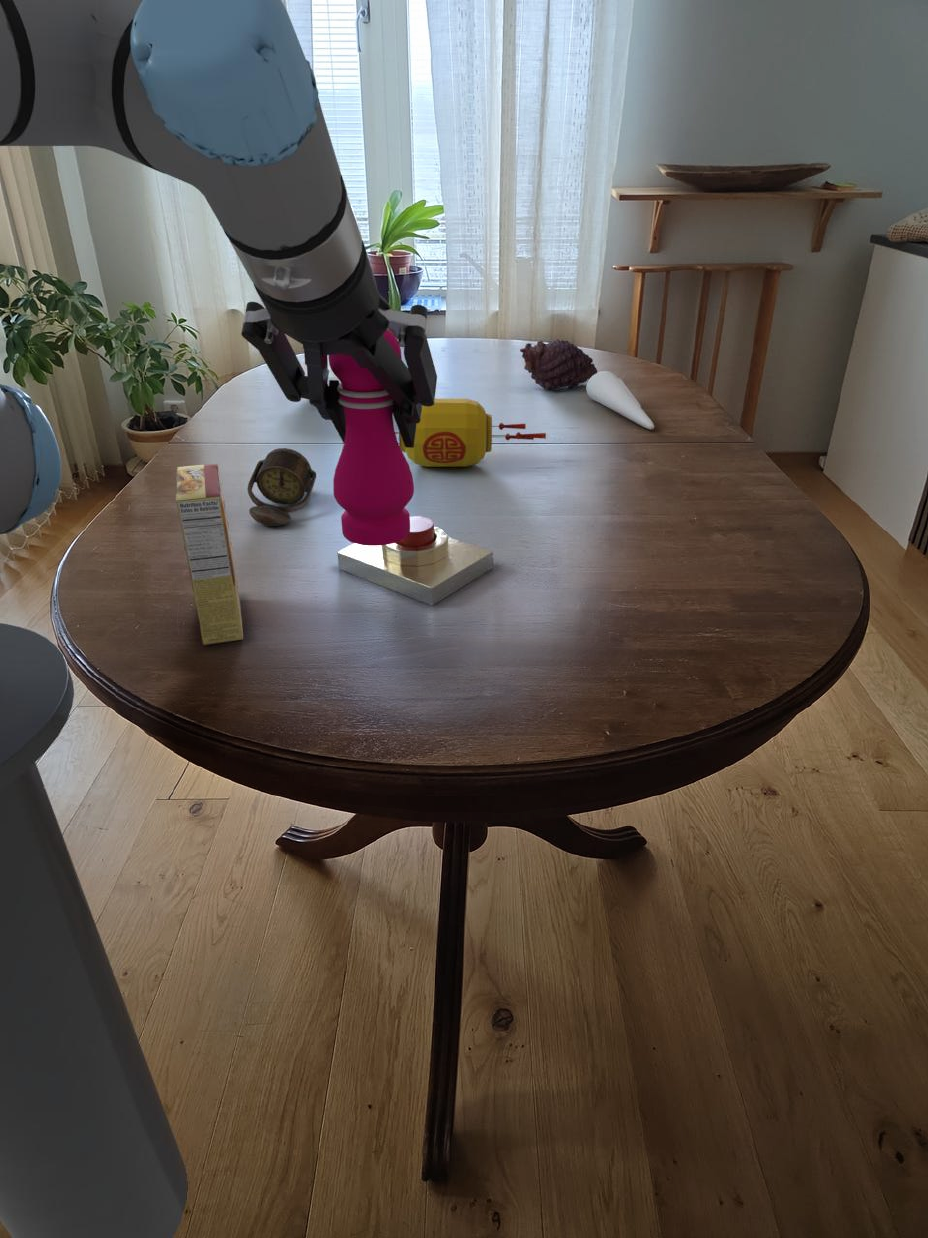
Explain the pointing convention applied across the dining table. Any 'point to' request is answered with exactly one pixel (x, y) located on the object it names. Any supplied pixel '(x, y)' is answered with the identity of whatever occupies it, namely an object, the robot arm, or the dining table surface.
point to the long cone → (617, 397)
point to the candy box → (209, 552)
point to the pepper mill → (370, 458)
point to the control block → (419, 566)
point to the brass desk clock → (281, 486)
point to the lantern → (455, 434)
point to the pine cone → (557, 364)
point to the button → (419, 532)
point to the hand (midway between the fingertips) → (380, 432)
